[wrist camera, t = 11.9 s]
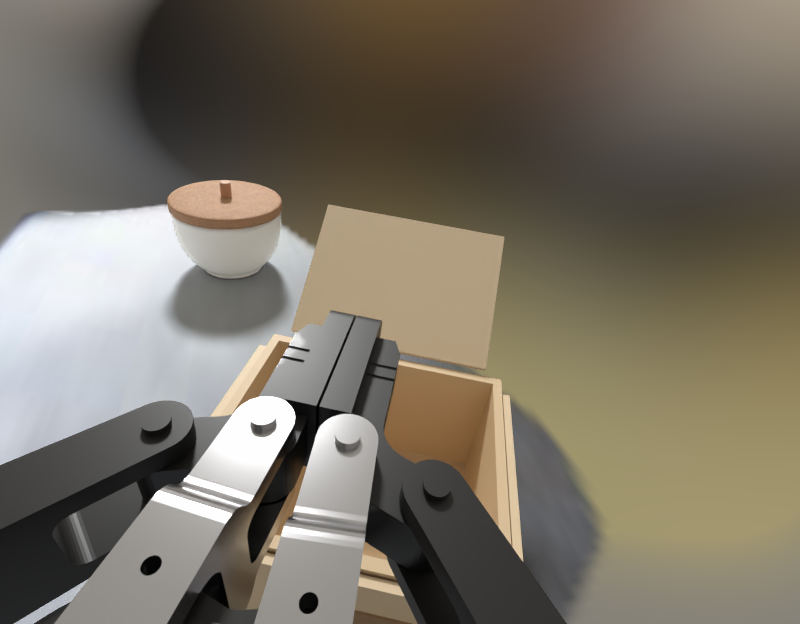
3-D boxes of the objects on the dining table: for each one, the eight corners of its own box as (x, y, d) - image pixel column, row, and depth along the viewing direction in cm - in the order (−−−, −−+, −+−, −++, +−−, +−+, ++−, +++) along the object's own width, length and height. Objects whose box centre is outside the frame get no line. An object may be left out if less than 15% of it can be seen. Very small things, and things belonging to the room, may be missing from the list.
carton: (166, 619, 20) (126, 532, 16) (272, 419, 31) (266, 332, 26) (477, 695, 19) (530, 626, 15) (478, 463, 30) (509, 381, 25)
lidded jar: (182, 245, 49) (167, 163, 44) (277, 241, 53) (274, 165, 48) (177, 295, 41) (158, 202, 36) (290, 286, 45) (288, 201, 40)
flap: (291, 329, 26) (328, 204, 29) (293, 332, 26) (329, 208, 29) (485, 368, 25) (504, 236, 28) (484, 370, 26) (502, 240, 29)
